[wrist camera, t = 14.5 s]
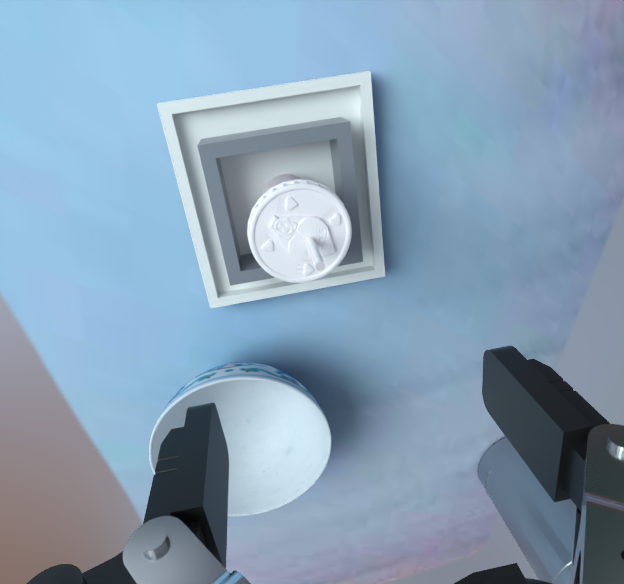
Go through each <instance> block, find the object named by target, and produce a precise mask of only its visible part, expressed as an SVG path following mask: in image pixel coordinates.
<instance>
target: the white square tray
mask: <svg viewBox="0 0 624 584" xmlns="http://www.w3.org/2000/svg"><path fill="white" fill-rule="evenodd" d="M157 106H158V110H159V114H160V118H161V122H162V125H163V129H164V133H165V137H166V141H167V145H168V148H169V152H170V156H171V160H172V164H173V167H174V171H175V175H176V179H177V183H178V187H179V190H180V194H181V198H182V202H183V206H184V209H185V213H186V217H187V221H188V225H189V228H190V232H191V236H192V240H193V244H194V248H195V251H196V255H197V259H198V263H199V267H200V270H201V274H202V278H203V282H204V286H205V290H206V293H207V297H208V301H209V305H210V309H211V308H216V307H221V306H227V305H232V304H238V303H243V302H249V301H254V300H260V299H265V298H271V297H276V296H282V295H287V294H292V293H298V292H303V291H309V290H314V289H320V288H325V287H331V286H336V285H342V284H347V283H353V282H358V281H363V280H369V279H374V278H380V277H385V266H384V252H383V238H382V224H381V210H380V195H379V181H378V167H377V153H376V139H375V125H374V111H373V97H372V83H371V71H362V72H355V73H348V74H342V75H335V76H329V77H322V78H316V79H309V80H302V81H296V82H289V83H283V84H276V85H270V86H263V87H256V88H250V89H243V90H237V91H230V92H224V93H217V94H210V95H204V96H197V97H191V98H184V99H178V100H171V101H164V102H160V103H157ZM282 174H291V175H295V176H297V177H299V178H301V179H303V180H312V181H314V182H317V183H320V184H323V185H325V186H326V187H328V188H329V189H330V190H332V191H333V192H335V193H336V195H337V196H338V197H339V198H340V200H341V201H342V202H343V204H344V206H345V208H346V210H347V212H348V214H349V217H350V221H351V227H352V236H351V242H350V246H349V249H348V251H347V253H346V255H345V257H344V259H343V260H342V261H341V263H340V264H339V265H338V266H337V267H336V268H335V269H334V270H333V271H332V272H330V273H329V274H327V275H326V276H324V277H322V278H320V279H317V280H314V281H311V282H305V283H292V282H286V281H283V280H280V279H277V278H275V277H273V276H272V275H270V274H269V273H267V272H266V271H265V270H264V269H263V268H262V267H261V266H260V265H259V264H258V262H257V261H256V259H255V258H254V256H253V253H252V251H251V248H250V245H249V240H248V236H247V230H248V220H249V217H250V214H251V211H252V208H253V207H254V205H255V204H256V202H257V201H258V199H259V198H260V197H261V196H262V195H263V192H264V189H265V187H266V185H267V184H268V183H269V181H270V180H271V179H273V178H274V177H276V176H278V175H282Z"/></svg>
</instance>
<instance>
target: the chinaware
mask: <svg viewBox="0 0 624 584" xmlns="http://www.w3.org/2000/svg"><path fill="white" fill-rule="evenodd" d="M213 402H214V403H215V405H216V408H217V411H218V414H219V418H220V422H221V425H222V429H223V432H224V436H225V439H226V443H227V448H228V454H229V485H228V515H227V516H247V515H255V514H260V513H264V512H268V511H271V510H274V509H277V508H279V507H281V506H284V505H286V504H288V503H290V502H291V501H293V500H295V499H296V498H298V497H299V496H301V495H302V494H303V493H305V492H306V491H307V490H308V489H309V488H310V487H311V486H312V485H313V484H314V483H315V482H316V481H317V480H318V478H319V477H320V476H321V474H322V473H323V471H324V469H325V467H326V465H327V463H328V460H329V457H330V452H331V443H332V441H331V431H330V427H329V424H328V421H327V419H326V417H325V415H324V413H323V411H322V409H321V408H320V406H319V404H318V403H317V401H316V400H315V399H314V397H313V396H312V395H311V394H310V392H309V391H308V390H307V389H306V388H305V387H304V386H303V385H302V384H301V383H299V382H298V381H297V380H296V379H294V378H293V377H292V376H290V375H288V374H287V373H285V372H283V371H281V370H279V369H276V368H274V367H271V366H268V365H264V364H259V363H250V362H240V363H231V364H226V365H222V366H218V367H215V368H213V369H210V370H208V371H206V372H204V373H202V374H200V375H198V376H197V377H195V378H194V379H192V380H191V381H190V382H188V383H187V384H186V385H185V386H184V387H182V388H181V389H180V390H179V391H178V392H177V393H176V394H175V396H174V397H173V398H172V399H171V400H170V402H169V403H168V404H167V406H166V407H165V409H164V410H163V412H162V413H161V415H160V417H159V419H158V420H157V422H156V424H155V427H154V429H153V432H152V435H151V438H150V444H149V459H150V464H151V467H152V470H153V473H154V475H155V468H156V464H157V462H158V455H159V450H160V446H161V443H162V442H163V440H164V439H165V437H166V436H167V435H168V433H169V432H170V430H171V429H174V428H180V427H184V424H185V418H186V412H187V408H188V407H193V406H198V405H203V404H208V403H213Z"/></svg>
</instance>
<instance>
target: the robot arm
mask: <svg viewBox="0 0 624 584" xmlns="http://www.w3.org/2000/svg"><path fill="white" fill-rule="evenodd" d="M482 394H483V400H484V404H485V406H486V409H487V411H488V412H489V414H490V415H491V417H492V418H493V419H494V421H495V422H496V424H497V425H498V426H499V428H500V429H501V430H502V432H503V433H504V434H505V436H506V437H505V438H503V439H501V440H500V441H498V442H497V443H495V444H494V445H493V446H491V447H490V448H489V449H488V450H487V451H486V453H485V454H484V456H483V457H482V459H481V461H480V463H479V467H478V477H479V479H480V481H481V483H482V484H483V486H484V488H485V490H486V492H487V494H488V495H489V497H490V498H491V500H492V501H493V503H494V505H495V507H496V508H497V510H498V512H499V514H500V515H501V517H502V519H503V520H504V522H505V524H506V525H507V527H508V529H509V530H510V532H511V534H512V535H513V537H514V539H515V540H516V542H517V544H518V546H519V547H520V549H521V551H522V552H523V554H524V556H525V557H526V559H527V561H528V562H529V564H530V566H531V568H532V569H533V571H534V573H535V574H536V576H537V578H538V579H539V580H535V579H527V578H525V577H524V575H523V574H522V572H521V570H520V568H519V567H518V565H517V563H515V564H510V565H506V566H501V567H497V568H493V569H488V570H484V571H479V572H475V573H472V574H470V575H468V576H467V577H465V578H463V579H461V580H460V581H458V582H456V583H454V584H624V426H623V425H616V424H610V423H609V422H608V421H607V420H606V419H605V418H604V417H603V416H602V415H600V414H599V413H598V412H597V411H596V410H595V409H594V408H593V407H592V406H591V405H590V404H589V403H588V402H587V401H586V400H585V399H584V398H583V397H581V396H580V395H579V394H578V393H577V392H576V391H573V388H572V387H571V386H570V385H569V384H568V383H567V382H565V381H563V379H562V378H561V377H560V376H559V375H558V374H557V373H556V372H555V371H554V370H553V369H552V368H551V367H549V366H547V365H545V364H543V363H541V362H539V361H537V360H535V359H530V360H527V359H526V358H525V357H524V356H523V355H522V354H521V353H520V352H519V351H518V350H517V349H516V348H515V347H513V346H506V347H501V348H496V349H491V350H486V351H485V353H484V357H483V386H482ZM228 485H229V454H228V448H227V443H226V439H225V436H224V432H223V429H222V425H221V422H220V418H219V414H218V411H217V408H216V405H215V403H214V402H213V403H208V404H203V405H198V406H193V407H188V408H187V412H186V418H185V424H184V427H180V428H174V429H171V430H170V432H169V433H168V435H167V436H166V437H165V439H164V440H163V442H162V443H161V446H160V450H159V455H158V462H157V464H156V468H155V475H154V478H153V482H152V487H151V491H150V496H149V500H148V505H147V509H146V514H145V518H144V522H143V525H141V526H140V527H139V528H138V529H136V530H135V531H134V533H133V534H132V535H131V536H130V538H129V539H128V541H127V543H126V544H125V547H124V550H123V551H122V552H121V553H120V554H118V555H117V556H115V557H114V558H112V559H110V560H108V561H106V562H104V563H102V564H100V565H98V566H96V567H94V568H92V569H90V570H88V571H86V572H84V573H81V571H80V569H79V568H77V567H76V566H74V565H70V564H61V565H57V566H53V567H50V568H49V569H46V570H44V571H43V572H41V573H39V574H38V575H37V576H35V577H34V578H33V579H31V580H30V581H29V582H28V583H27V584H250V583H249V581H248V580H247V579H246V578H245V577H244V576H243V575H242V574H240V573H239V572H237V571H233V572H232V573H230V572H228V571H227V570H226V545H227V515H228Z"/></svg>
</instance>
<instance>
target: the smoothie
mask: <svg viewBox="0 0 624 584" xmlns="http://www.w3.org/2000/svg"><path fill="white" fill-rule="evenodd" d="M247 236H248V240H249V245H250V248H251V251H252V253H253V256H254V258H255V259H256V261H257V262H258V264H259V265H260V266H261V267H262V268H263V269H264V270H265V271H266V272H267V273H269V274H270V275H272V276H273V277H275V278H277V279H280V280H283V281H286V282H292V283H305V282H311V281H314V280H317V279H320V278H322V277H324V276H326V275H327V274H329V273H330V272H332V271H333V270H334V269H335V268H336V267H337V266H338V265H339V264H340V263H341V261H342V260H343V259H344V257H345V255H346V253H347V251H348V249H349V246H350V242H351V236H352V227H351V221H350V217H349V214H348V212H347V210H346V208H345V206H344V204H343V202H342V201H341V200H340V198H339V197H338V196H337V195H336V193H335V192H333V191H332V190H330V189H329V188H328V187H326V186H325V185H323V184H320V183H317V182H314V181H312V180H303V179H301V178H299V177H297V176H295V175H291V174H282V175H278V176H276V177H274V178H273V179H271V180H270V181H269V183H268V184H267V185H266V187H265V189H264V192H263V195H262V196H261V197H260V198H259V199H258V201H257V202H256V204H255V205H254V207H253V208H252V211H251V214H250V217H249V220H248V230H247Z"/></svg>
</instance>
